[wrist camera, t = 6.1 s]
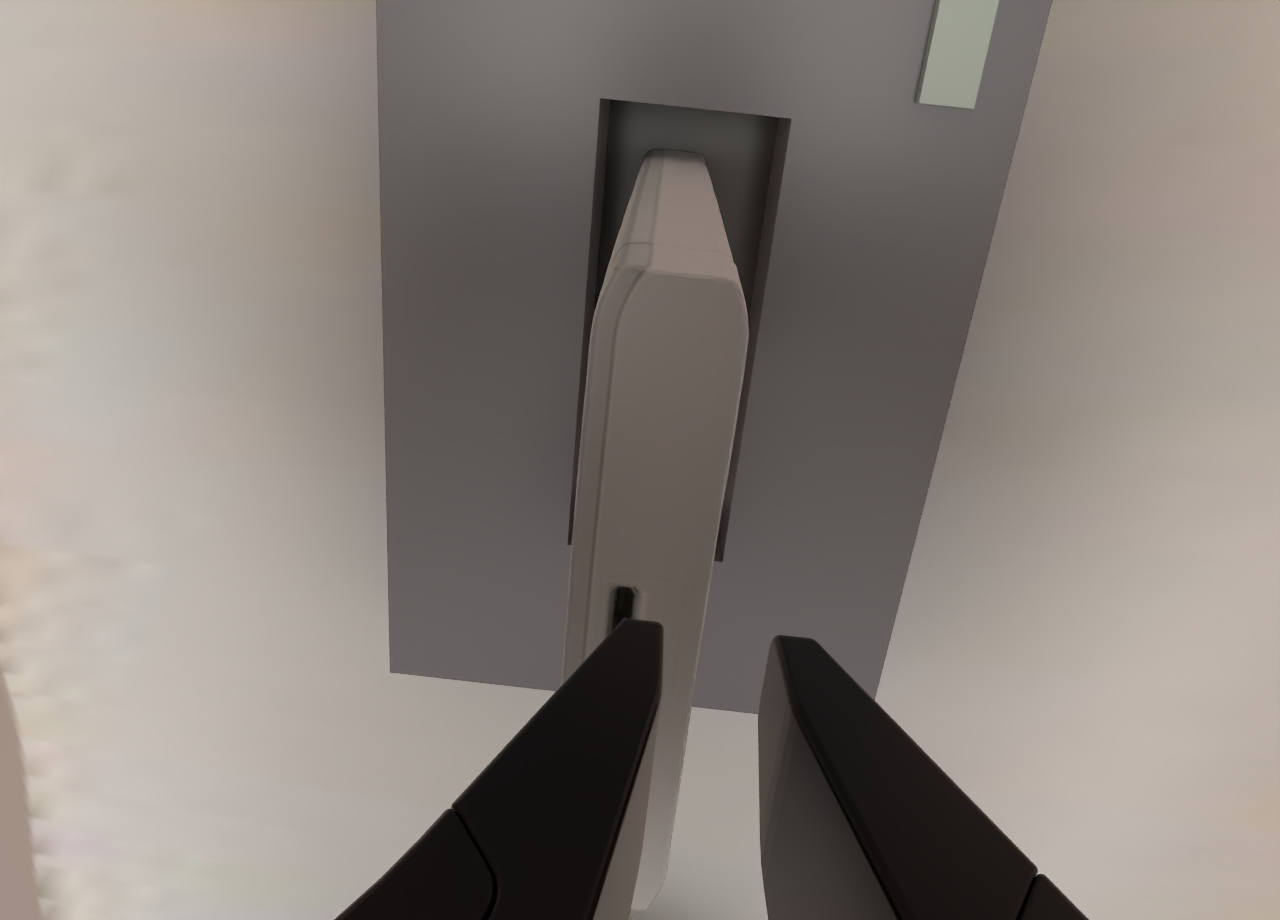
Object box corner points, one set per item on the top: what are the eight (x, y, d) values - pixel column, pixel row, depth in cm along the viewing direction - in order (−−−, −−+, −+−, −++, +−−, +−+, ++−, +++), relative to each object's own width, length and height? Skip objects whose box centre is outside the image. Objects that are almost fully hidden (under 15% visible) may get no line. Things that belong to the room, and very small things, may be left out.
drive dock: (851, 665, 24) (870, 734, 22) (418, 616, 25) (386, 679, 22) (1031, -98, 17) (1090, -126, 15) (414, -162, 17) (366, -201, 15)
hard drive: (610, 484, 23) (533, 902, 11) (640, 145, 19) (577, 257, 8) (674, 491, 23) (663, 916, 11) (716, 153, 19) (760, 276, 8)
